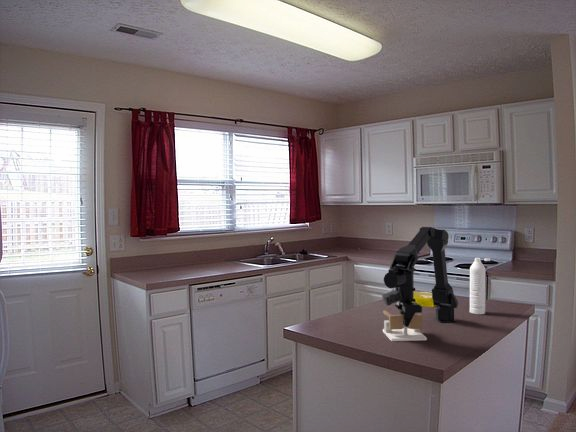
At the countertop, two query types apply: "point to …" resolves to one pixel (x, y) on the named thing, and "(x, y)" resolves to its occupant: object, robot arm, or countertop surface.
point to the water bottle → (477, 287)
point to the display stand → (403, 333)
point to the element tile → (424, 299)
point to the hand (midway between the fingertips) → (405, 325)
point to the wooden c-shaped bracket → (397, 320)
